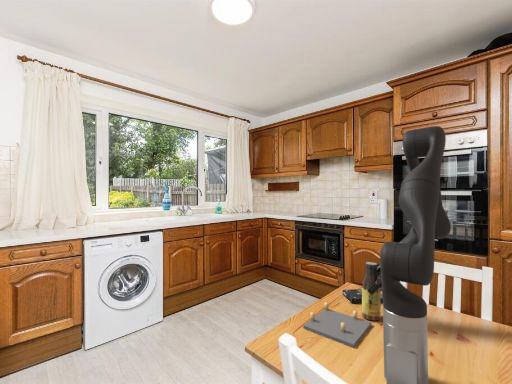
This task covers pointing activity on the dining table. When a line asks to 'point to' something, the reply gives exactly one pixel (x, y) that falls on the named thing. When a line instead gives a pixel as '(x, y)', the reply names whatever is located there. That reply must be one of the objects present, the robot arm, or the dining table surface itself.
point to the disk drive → (355, 296)
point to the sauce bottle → (370, 302)
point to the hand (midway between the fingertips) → (366, 289)
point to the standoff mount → (338, 326)
